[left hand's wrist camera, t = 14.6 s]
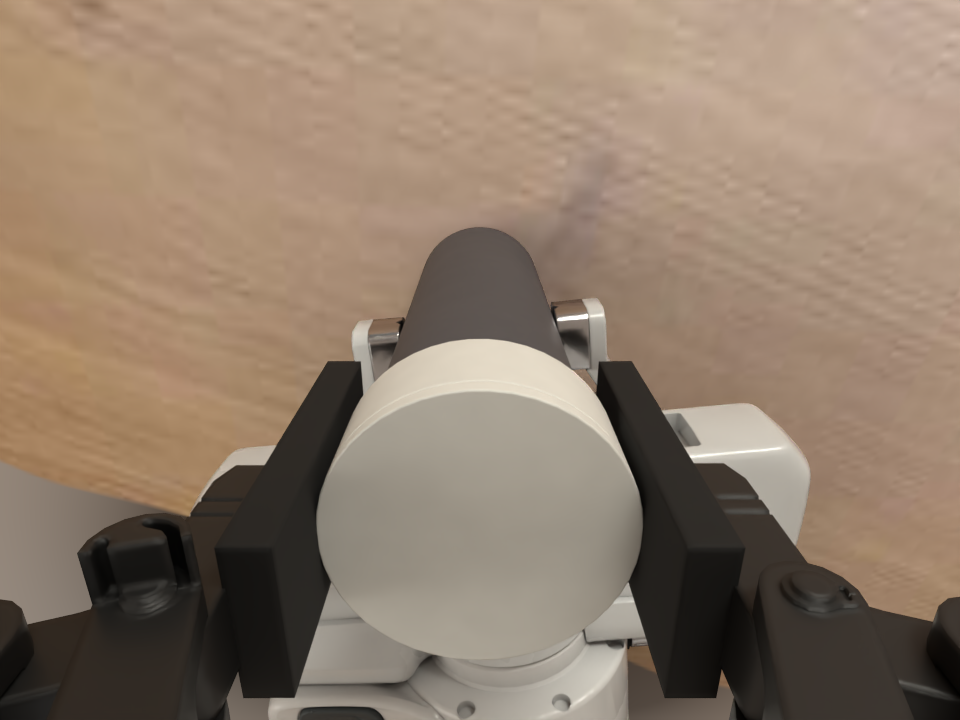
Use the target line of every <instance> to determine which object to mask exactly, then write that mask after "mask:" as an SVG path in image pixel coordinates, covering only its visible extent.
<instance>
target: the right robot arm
mask: <svg viewBox="0 0 960 720" xmlns="http://www.w3.org/2000/svg"><path fill="white" fill-rule="evenodd" d="M551 313H552V316H553V319H554V321H555V324H556V327H557V330H558V333H559V335H560V338H561V341H562V344H563V346H564V349H565V352H566V355H567V357H568V360H569V363H570V366H571V369H572V370H576V369H586V371H587V372H588V373H589V375H590V376H591V378H592V379H593V381H594V382H595V383H596V385H597V378H598V365H599V361H611V360H610V359H609V357H608V356H607V338H606V318H605V313H604V308H603V306H602V305H601V303H600V302H599V300H598V298H589V299H578V300H569V301H559V302H551ZM404 322H405V319H404V318H403V317H400V318H388V319H376V320H373V319H371V320H364V321H358V323H357V324H356V326H355V328H354V330H353V331H352V351H353V356H354V361H361V369H362V382H363V395H364V394H365V393H366V391H367V390H368V389H369V387H370V386H371V385H372V384H373V383H374V382H375V381H376V380H377V379H378V378H379V377H380V376H381V375H382V374H383V373H384V372H386V371H387V370H388V367H389V364H390V361H391V359H392V356H393V353H394V350H395V347H396V345H397V342H398V339H399V336H400V334H401V331H402V328H403V325H404ZM594 393H595V395H596V392H594ZM662 412H663V413H664V415H665V417H666V418H667V420H668V422H669V423H670V425H671V427H672V428H673V430H674V431H675V433H676V435H677V436H678V438H679V440H680V441H681V443H682V445H683V446H684V448H685V449H686V451H687V453H688V454H689V456H690V458H691V459H692V461H693V463H724V464H726V465H727V466H729V467H730V468H732V469H733V470H734V471H736V472H737V473H739V474H740V475H742V476H743V477H745V478H746V479H747V481H748V482H749V483H750V485H751V486H752V487H753V489H754V490H755V492H756V493H757V494H758V496H759V500H762V501H763V503H764V504H765V505H766V507H767V508H768V509H769V513H770V515H773V516H774V518H775V519H776V520H777V522H778V523H779V524H780V526H781V527H782V529H783V530H784V531H785V533H786V534H787V535H788V537H789V538H790V540H791V541H792V542H793V544H794V545H795V546H796V545H797V541H798V538H799V534H800V530H801V526H802V522H803V518H804V514H805V509H806V504H807V499H808V494H809V488H810V480H811V474H810V467H809V464H808V462H807V460H806V458H805V456H804V454H803V453H802V451H801V450H800V449H799V447H798V446H797V445H796V444H795V442H794V441H793V440H792V439H791V438H790V437H789V435H788V434H787V433H786V432H785V431H784V430H783V429H782V428H781V427H780V426H779V425H778V424H777V423H776V422H774V421H773V420H772V419H771V418H770V417H769V416H767V415H766V414H765V413H764V412H763V411H762V410H760V409H759V408H758V407H756V406H754V405H752V404H748V403H735V404H724V405H713V406H702V407H692V408H681V409H670V410H662ZM276 446H277V445H271V446H259V447H247V448H241V449H238V450H235V451H234V452H233V453H231V454H230V455H229V456H228V457H227V458H226V459H225V461H224V462H223V463H222V464H221V466H220V467H219V468H218V469H217V470H216V472H215V473H214V474H213V475H212V477H211V478H210V479H209V481H208V482H207V484H206V485H205V487H204V488H203V490H202V491H201V493H200V494H199V496H198V498H197V500H196V502H195V504H194V506H193V508H192V510H193V509H194V507H195V506H196V505H197V503H198V502H201V498H202V496H203V495H204V494H205V492H206V491H207V489H208V488H209V487H210V485H211V484H212V483H213V481H214V480H215V479H217V478H218V477H220V476H221V475H223V474H224V473H225V472H227V471H228V470H230V469H231V468H233V467H234V466H236V465H265V464H266V462H267V460H268V459H269V457H270V455H271V454H272V452H273V450H274V449H275V447H276ZM192 510H191V512H192ZM190 515H191V513H190ZM189 517H190V516H189ZM630 646H631V647H635V646H648V643H647V640H646V637H645V634H644V630H643V627H642V624H641V621H640V618H639V615H638V611H637V608H636V605H635V602H634V599H633V596H632V592H631V589H630V586H629V583H627V584H626V586H625V587H624V589H623V591H622V592H621V594H620V595H619V596H618V598H617V599H616V600H615V601H614V602H613V604H612V605H611V606H610V607H609V608H608V609H607V610H606V611H605V612H604V613H603V614H602V615H601V616H600V617H599V618H598V619H597V620H596V621H594V622H593V623H591V624H590V625H589V626H587V627H586V628H585V629H583V630H582V631H580V632H579V633H577V634H575V635H573V636H572V637H570V638H568V639H566V640H565V641H562V642H560V643H558V644H556V645H553V646H551V647H549V648H546V649H543V650H540V651H537V652H533V653H530V654H526V655H521V656H516V657H512V658H504V659H494V660H466V659H455V658H448V657H443V656H438V655H433V654H430V653H426V652H423V651H420V650H416V649H413V648H411V647H409V646H406V645H404V644H401V643H399V642H397V641H395V640H393V639H391V638H389V637H388V636H386V635H384V634H382V633H380V632H379V631H378V630H376V629H375V628H373V627H372V626H371V625H369V624H368V623H366V622H365V621H364V620H363V619H362V618H361V617H360V616H358V615H357V614H356V613H355V612H354V611H353V610H352V609H351V608H350V607H349V606H348V604H347V603H346V602H345V601H344V600H343V598H342V597H341V596H340V595H339V593H338V592H337V590H336V588H335V587H334V585H333V584H332V582H331V585H330V588H329V591H328V595H327V598H326V601H325V604H324V607H323V610H322V613H321V617H320V620H319V623H318V626H317V629H316V632H315V636H314V639H313V642H312V645H311V648H310V651H309V655H308V658H307V661H306V664H305V667H304V670H303V674H302V677H301V680H300V683H299V686H298V689H297V693H296V696H295V698H270V701H269V707H268V718H269V720H629V713H628V712H629V710H628V660H627V649H629V647H630Z"/></svg>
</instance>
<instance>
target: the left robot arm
mask: <svg viewBox="0 0 960 720" xmlns="http://www.w3.org/2000/svg"><path fill="white" fill-rule="evenodd" d="M596 396H597V397H598V399H599V401H600V402H601V404H602V406H603V408H604V409H605V411H606V413H607V416H608V418H609V420H610V423H611V425H612V427H613V430H614V432H615V434H616V437H617V439H618V442H619V444H620V446H621V449H622V451H623V453H624V456H625V458H626V460H627V463H628V465H629V468H630V470H631V472H632V475H633V477H634V480H635V483H636V485H637V488H638V490H639V494H640V499H641V503H642V508H643V532H642V541H641V549H640V553H639V557H638V560H637V564H636V566H635V568H634V570H633V573H632V575H631V577H630V579H629V581H628V583H629V586H630V589H631V592H632V596H633V599H634V602H635V605H636V608H637V611H638V615H639V618H640V621H641V624H642V627H643V630H644V634H645V637H646V640H647V643H648V646H649V649H650V653H651V656H652V659H653V662H654V665H655V668H656V672H657V675H658V678H659V681H660V684H661V687H662V690H663V693H664V697H665V698H716V696H717V691H718V686H719V681H720V675H721V670H723V673H724V675H725V677H726V679H727V682H728V684H729V686H730V689H731V691H732V693H733V695H734V699H733V704H732V708H731V713H730V718H729V720H960V597H955V598H948V599H947V600H946V601H944V602H943V603H942V604H941V605H939V607H938V610H937V612H936V615H935V618H934V621H933V622H931V621H926V620H922V619H917V618H913V617H908V616H904V615H899V614H895V613H891V612H886V611H882V610H879V609H875V608H872V607H869V606H868V604H867V602H866V601H865V599H864V598H863V596H862V595H861V594H860V592H859V591H858V589H856V588H855V587H854V586H853V585H851V584H850V583H849V582H848V581H846V580H845V579H844V578H843V577H841V576H839V575H837V574H835V573H833V572H831V571H829V570H827V569H825V568H823V567H819V566H816V565H812V564H809V563H807V562H806V560H805V559H804V557H803V556H802V555H801V553H800V552H799V551H798V549H797V548H796V546H795V545H794V544H793V542H792V541H791V540H790V538H789V537H788V535H787V534H786V533H785V531H784V530H783V529H782V527H781V526H780V524H779V523H778V522H777V520H776V519H775V518H774V516H773V515H770V513H769V509H768V508H767V507H766V505H765V504H764V503H763V501H762V500H759V496H758V494H757V493H756V492H755V490H754V489H753V487H752V486H751V485H750V483H749V482H748V481H747V479H746V478H745V477H743V476H742V475H740V474H739V473H737V472H736V471H734V470H733V469H732V468H730V467H729V466H727V465H726V464H724V463H693V461H692V459H691V458H690V456H689V454H688V453H687V451H686V449H685V448H684V446H683V445H682V443H681V441H680V440H679V438H678V436H677V435H676V433H675V431H674V430H673V428H672V427H671V425H670V423H669V422H668V420H667V418H666V417H665V415H664V413H663V412H662V410H661V409H660V407H659V405H658V404H657V402H656V400H655V399H654V397H653V395H652V394H651V392H650V391H649V389H648V387H647V386H646V384H645V382H644V381H643V379H642V377H641V376H640V374H639V373H638V371H637V369H636V368H635V366H634V364H633V363H632V361H599V365H598V378H597V391H596ZM362 397H363V382H362V369H361V361H328V362H327V364H326V365H325V367H324V369H323V370H322V372H321V374H320V375H319V377H318V379H317V380H316V382H315V383H314V385H313V387H312V388H311V390H310V392H309V393H308V395H307V397H306V398H305V400H304V401H303V403H302V405H301V406H300V408H299V410H298V411H297V413H296V415H295V416H294V418H293V419H292V421H291V423H290V424H289V426H288V428H287V429H286V431H285V433H284V434H283V436H282V437H281V439H280V441H279V442H278V444H277V446H276V447H275V449H274V450H273V452H272V454H271V455H270V457H269V459H268V460H267V462H266V464H265V465H236V466H234V467H233V468H231V469H230V470H228V471H227V472H225V473H224V474H223V475H221V476H220V477H218V478H217V479H215V480H214V481H213V483H212V484H211V485H210V487H209V488H208V489H207V491H206V492H205V494H204V495H203V496H202V498H201V502H198V503H197V505H196V506H195V507H194V509H193V510H192V512H191V515H190V517H187V518H186V520H184V519H183V518H182V517H180V516H176V515H171V514H167V513H158V514H144V515H140V516H136V517H132V518H128V519H124V520H122V521H120V522H118V523H115V524H113V525H111V526H109V527H106V528H104V529H103V530H101V531H100V532H99V533H97V534H96V535H94V536H93V537H91V538H90V539H89V540H87V542H86V543H85V544H84V545H83V547H82V548H81V549H80V550H79V552H78V553H77V554H78V558H79V561H80V564H81V568H82V571H83V575H84V578H85V581H86V585H87V588H88V591H89V595H90V598H91V601H92V607H91V609H90V610H87V611H83V612H80V613H76V614H72V615H68V616H63V617H59V618H54V619H50V620H45V621H41V622H36V623H32V624H28V625H27V622H26V619H25V617H24V614H23V611H22V609H21V608H20V607H19V606H18V605H16V604H15V603H14V602H13V601H7V600H0V720H230V715H229V708H228V704H227V699H226V698H227V696H228V693H229V691H230V689H231V686H232V684H233V682H234V679H235V677H236V675H237V672H239V677H240V683H241V687H242V693H243V698H295V696H296V693H297V689H298V686H299V683H300V680H301V677H302V674H303V670H304V667H305V664H306V661H307V658H308V655H309V651H310V648H311V645H312V642H313V639H314V636H315V632H316V629H317V626H318V623H319V620H320V617H321V613H322V610H323V607H324V604H325V601H326V598H327V595H328V591H329V588H330V585H331V581H330V578H329V576H328V574H327V572H326V570H325V568H324V565H323V562H322V559H321V555H320V552H319V544H318V536H317V527H316V511H317V505H318V500H319V495H320V492H321V489H322V486H323V483H324V481H325V478H326V475H327V473H328V471H329V468H330V466H331V464H332V461H333V459H334V456H335V454H336V452H337V449H338V447H339V445H340V442H341V440H342V438H343V435H344V433H345V431H346V428H347V426H348V423H349V421H350V419H351V416H352V414H353V412H354V410H355V408H356V407H357V405H358V403H359V401H360V399H361V398H362Z"/></svg>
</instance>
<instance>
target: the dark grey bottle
mask: <svg viewBox="0 0 960 720" xmlns="http://www.w3.org/2000/svg"><path fill="white" fill-rule="evenodd" d="M466 339H493V340H501V341H509V342H513V343H517V344H521V345H525V346H528V347H531V348H533V349H536V350H538V351H541V352H544V353H545V354H547V355H549V356H551V357H553V358H555V359H557V360H558V361H560V362H562V363H563V364H564V365H566V366H567V367H568V368H570V369H571V366H570V363H569V360H568V357H567V355H566V352H565V349H564V346H563V344H562V341H561V338H560V335H559V333H558V330H557V327H556V324H555V321H554V319H553V316H552V313H551V310H550V308H549V305H548V302H547V299H546V296H545V294H544V291H543V288H542V285H541V283H540V280H539V277H538V274H537V272H536V269H535V266H534V264H533V261H532V259H531V257H530V255H529V254H528V252H527V251H526V250H525V248H524V247H523V246H522V245H521V244H520V243H519V242H518V241H517V240H515V239H514V238H513V237H511V236H509V235H507V234H506V233H503V232H501V231H498V230H495V229H491V228H469V229H465V230H461V231H458V232H456V233H454V234H452V235H450V236H448V237H447V238H445V239H444V240H443V241H442V242H440V243H439V244H438V245H437V246H436V247H435V249H434V250H433V251H432V253H431V254H430V256H429V258H428V260H427V262H426V264H425V267H424V270H423V272H422V275H421V278H420V281H419V284H418V286H417V289H416V292H415V295H414V297H413V300H412V303H411V306H410V309H409V311H408V314H407V317H406V320H405V322H404V325H403V328H402V331H401V334H400V336H399V339H398V342H397V345H396V347H395V350H394V353H393V356H392V359H391V361H390V364H389V367H388V369H390V368H391V367H392V366H394V365H395V364H396V363H398V362H399V361H401V360H403V359H405V358H407V357H408V356H410V355H412V354H414V353H416V352H419V351H421V350H424V349H426V348H429V347H431V346H435V345H439V344H442V343H446V342H451V341H458V340H466ZM571 370H572V369H571Z"/></svg>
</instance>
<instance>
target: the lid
mask: <svg viewBox="0 0 960 720" xmlns="http://www.w3.org/2000/svg"><path fill="white" fill-rule="evenodd" d="M316 527H317V536H318V544H319V552H320V555H321V559H322V562H323V565H324V568H325V570H326V572H327V574H328V576H329V578H330V581H331V582H332V584H333V585H334V587H335V588H336V590H337V592H338V593H339V595H340V596H341V597H342V598H343V600H344V601H345V602H346V603H347V604H348V606H349V607H350V608H351V609H352V610H353V611H354V612H355V613H356V614H357V615H358V616H360V617H361V618H362V619H363V620H364V621H365V622H366V623H368V624H369V625H371V626H372V627H373V628H375V629H376V630H378V631H379V632H380V633H382V634H384V635H386V636H388V637H389V638H391V639H393V640H395V641H397V642H399V643H401V644H404V645H406V646H409V647H411V648H413V649H416V650H420V651H423V652H426V653H430V654H433V655H438V656H443V657H448V658H455V659H466V660H494V659H504V658H512V657H516V656H521V655H526V654H530V653H533V652H537V651H540V650H543V649H546V648H549V647H551V646H553V645H556V644H558V643H560V642H562V641H565V640H566V639H568V638H570V637H572V636H573V635H575V634H577V633H579V632H580V631H582V630H583V629H585V628H586V627H587V626H589V625H590V624H591V623H593V622H594V621H596V620H597V619H598V618H599V617H600V616H601V615H602V614H603V613H604V612H605V611H606V610H607V609H608V608H609V607H610V606H611V605H612V604H613V602H614V601H615V600H616V599H617V598H618V596H619V595H620V594H621V592H622V591H623V589H624V587H625V586H626V584H627V583H628V581H629V579H630V577H631V575H632V573H633V570H634V568H635V566H636V564H637V560H638V557H639V553H640V549H641V541H642V532H643V508H642V503H641V499H640V494H639V490H638V488H637V485H636V483H635V480H634V477H633V475H632V472H631V470H630V468H629V465H628V463H627V460H626V458H625V456H624V453H623V451H622V449H621V446H620V444H619V442H618V439H617V437H616V434H615V432H614V430H613V427H612V425H611V423H610V420H609V418H608V416H607V413H606V411H605V409H604V408H603V406H602V404H601V402H600V401H599V399H598V397H597V396H596V395H595V393H594V392H593V391H592V390H591V388H590V387H589V386H588V384H587V383H586V382H585V381H583V380H582V379H581V378H580V377H579V376H578V375H577V374H576V373H575V372H574V371H573V370H571V369H570V368H568V367H567V366H566V365H564V364H563V363H562V362H560V361H558V360H557V359H555V358H553V357H551V356H549V355H547V354H545V353H544V352H541V351H538V350H536V349H533V348H531V347H528V346H525V345H521V344H517V343H513V342H509V341H501V340H493V339H466V340H458V341H451V342H446V343H442V344H439V345H435V346H431V347H429V348H426V349H424V350H421V351H419V352H416V353H414V354H412V355H410V356H408V357H407V358H405V359H403V360H401V361H399V362H398V363H396V364H395V365H394V366H392V367H391V368H390V369H388V370H387V371H386V372H384V373H383V374H382V375H381V376H380V377H379V378H378V379H377V380H376V381H375V382H374V383H373V384H372V385H371V386H370V387H369V389H368V390H367V391H366V393H365V394H364V395H363V397H362V398H361V399H360V401H359V403H358V405H357V407H356V408H355V410H354V412H353V414H352V416H351V419H350V421H349V423H348V426H347V428H346V431H345V433H344V435H343V438H342V440H341V442H340V445H339V447H338V449H337V452H336V454H335V456H334V459H333V461H332V464H331V466H330V468H329V471H328V473H327V475H326V478H325V481H324V483H323V486H322V489H321V492H320V495H319V500H318V505H317V511H316Z"/></svg>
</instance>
